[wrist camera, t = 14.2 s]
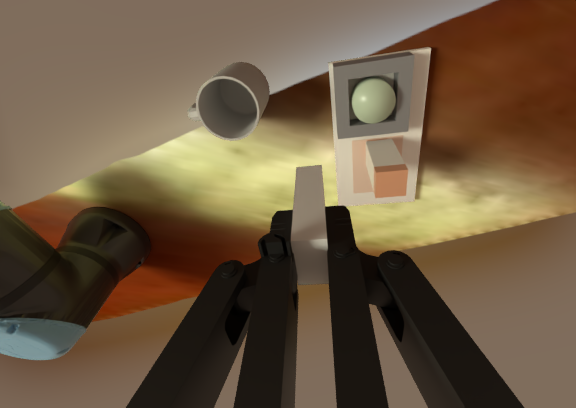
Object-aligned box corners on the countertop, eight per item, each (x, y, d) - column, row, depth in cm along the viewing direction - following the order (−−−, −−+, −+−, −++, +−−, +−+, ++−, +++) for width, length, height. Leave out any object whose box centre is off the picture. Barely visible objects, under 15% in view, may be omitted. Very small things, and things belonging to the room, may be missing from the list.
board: (338, 203, 49) (339, 216, 46) (328, 62, 37) (329, 67, 34) (412, 197, 47) (418, 210, 44) (428, 47, 35) (438, 51, 32)
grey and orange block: (364, 160, 43) (375, 198, 35) (364, 138, 41) (375, 172, 33) (389, 158, 43) (405, 195, 34) (390, 135, 41) (408, 169, 32)
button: (351, 117, 39) (353, 125, 37) (350, 78, 36) (352, 84, 34) (389, 113, 38) (394, 120, 36) (391, 72, 36) (396, 78, 33)
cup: (276, 109, 41) (267, 133, 34) (212, 125, 43) (191, 151, 36) (260, 54, 37) (246, 67, 30) (191, 75, 39) (162, 92, 32)
